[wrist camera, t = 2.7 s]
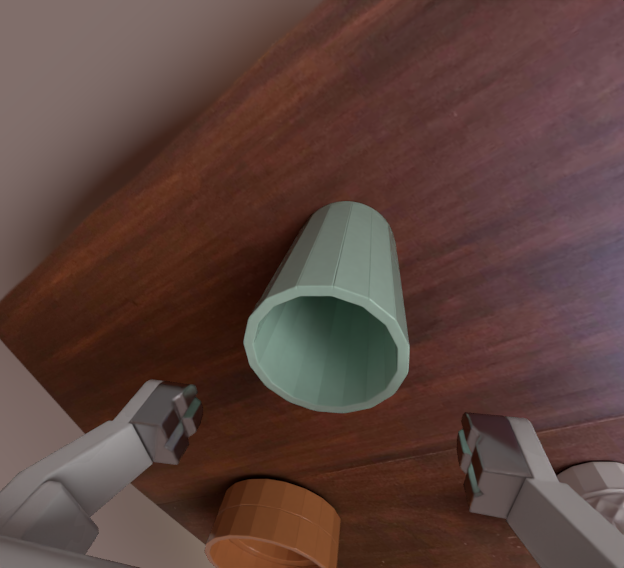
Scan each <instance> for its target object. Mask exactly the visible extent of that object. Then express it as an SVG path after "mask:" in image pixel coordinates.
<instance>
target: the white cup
mask: <svg viewBox="0 0 624 568" xmlns="http://www.w3.org/2000/svg"><path fill="white" fill-rule="evenodd" d="M557 479H558V481H559V482H562V483H566V484H568V485H569V486H570V487H571V488H572V489H573V490H574V491H575V492H576V493H578V494H579V495H580V496H581V497H582V498H583V499H584V500H585V501H586V502H588V503H589V504H590V505H591V506H592V507H593V508H594V509H595V510H596V511H597V512H599V513H600V514H601V515H602V516H603V517H604V518H605V519H606V520H607V521H609V522H610V523H611V524H612V525H613V526H614V527H615V528H616V529H617V530H618V531H620V532H621V533H622V534H623V535H624V464H622V463H618V462H588V463H584V464H580V465H576V466H572V467H570V468H568V469H566V470H565V471H563V472H561V473H560V474H558V475H557Z"/></svg>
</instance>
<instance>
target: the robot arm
mask: <svg viewBox="0 0 624 568" xmlns="http://www.w3.org/2000/svg"><path fill="white" fill-rule="evenodd" d="M197 393H198V391H197V389H196V387H195V385H192V384H185V383H177V382H170V381H162V380H153V379H151V380H149V381H147V382H145V383H144V385H143V386H142V387H141V388H140V389H139V391H138V392H137V393H136V394H135V395H134V396H133V398H132V399H131V400H130V401H129V402H128V404H127V405H126V406H125V407H124V408H123V409H122V411H121V412H120V413H119V414H118V415H117V417H116V418H115V419H114V420H113V421H107V422H105V423H104V424H102V425H100V426H98V427H97V428H95V429H93V430H91V431H90V432H88V433H86V434H85V435H83V436H81V437H80V438H78V439H76V440H74V441H73V442H71V443H69V444H67V445H66V446H64V447H62V448H61V449H59V450H57V451H55V452H54V453H52V454H50V455H49V456H47V457H45V458H43V459H42V460H40V461H38V462H37V463H35V464H33V465H32V466H30V467H28V468H26V469H25V470H23V471H21V472H19V473H18V474H17V475H16V476H15V477H14V478H13V479H12V480H11V481H10V482H9V483H8V484H7V485H6V486H5V487H4V488H3V489H2V490H1V491H0V568H139V567H135V566H130V565H126V564H122V563H118V562H114V561H110V560H105V559H101V558H97V557H93V556H88V555H85V554H86V552H87V550H88V549H89V548H90V546H91V545H92V543H93V541H94V540H95V538H96V537H97V535H98V533H99V532H98V527H97V526H96V524H95V523H94V522H93V521H92V520H91V518H90V517H91V516H92V515H93V514H94V513H95V512H97V511H98V510H99V509H100V508H101V507H102V506H103V505H105V504H106V503H107V502H108V501H109V500H111V499H112V498H113V497H114V496H115V495H116V494H118V493H119V492H120V491H121V490H122V489H123V488H124V487H126V486H127V485H128V484H129V483H130V482H132V481H133V480H134V479H135V478H136V477H137V476H139V475H140V474H141V473H142V472H143V471H144V470H146V469H147V468H148V467H149V466H150V465H151V464H153V462H159V463H167V464H175V465H178V463H179V461H180V460H181V458H182V456H183V454H184V453H185V451H186V449H187V447H188V446H189V440H188V437H190V436H191V435H192V434H194V433H195V432H196V431H197V429H198V427H199V426H200V424H201V420H202V416H203V406H202V403H201V401H200V400H199V399H198V398H196V397H195V396H196V394H197ZM461 422H462V426H463V429H462V430H460V431H459V432H458V437H457V455H458V461H459V466H460V468H461V469H462V471H463V472H464V473H465V474H466V478H465V481H464V489H465V493H466V498H467V502H468V507H469V511H470V512H473V513H478V514H484V515H489V516H494V517H500V518H505V519H507V520H506V521H507V523H508V524H509V525H510V527H511V528H512V529H513V531H514V532H515V533H516V535H517V536H518V537H519V539H520V540H521V541H522V543H523V544H524V545H525V547H526V548H527V549H528V551H529V552H530V553H531V555H532V556H533V557H534V559H535V560H536V561H537V563H538V564H539V565H540V567H541V568H624V535H623V534H622V533H621V532H620V531H618V530H617V529H616V528H615V527H614V526H613V525H612V524H611V523H610V522H609V521H607V520H606V519H605V518H604V517H603V516H602V515H601V514H600V513H599V512H597V511H596V510H595V509H594V508H593V507H592V506H591V505H590V504H589V503H588V502H586V501H585V500H584V499H583V498H582V497H581V496H580V495H579V494H578V493H576V492H575V491H574V490H573V489H572V488H571V487H570V486H569V485H568V484H566V483H562V482H559V481H558V479H557V477H556V475H555V472H554V470H553V468H552V466H551V464H550V462H549V460H548V458H547V456H546V454H545V452H544V450H543V447H542V445H541V443H540V441H539V439H538V437H537V435H536V433H535V431H534V429H533V427H532V425H531V422H530V421H529V420H528V419H526V418H516V417H507V416H505V417H504V416H500V415H489V414H478V413H467V412H465V413H464V414H463V416H462V420H461Z"/></svg>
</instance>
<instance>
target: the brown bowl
mask: <svg viewBox="0 0 624 568" xmlns="http://www.w3.org/2000/svg"><path fill="white" fill-rule="evenodd" d="M340 526H341V520H340V518H339V516H338V514H337V512H336V510H335V509H334V508H333V507H332V506H331V505H330V504H329V503H328V502H326V501H325V500H324V499H323V498H321V497H320V496H318V495H316V494H314V493H312V492H311V491H309V490H307V489H305V488H302V487H299V486H296V485H293V484H290V483H287V482H283V481H277V480H271V479H247V480H244V481H240V482H237V483H235V484H233V485H232V486H231V487H230V488H228V489H227V491H226V494H225V496H224V499H223V501H222V504H221V507H220V509H219V512H218V514H217V517H216V520H215V522H214V525H213V527H212V530H211V532H210V535H209V538H208V540H207V543H206V547H205V554H206V556H207V558H208V560H209V561H210V562H211V563H212V564H213V565H214V566H215V567H216V568H337V564H338V552H339V540H340Z"/></svg>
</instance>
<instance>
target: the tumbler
mask: <svg viewBox="0 0 624 568" xmlns="http://www.w3.org/2000/svg"><path fill="white" fill-rule="evenodd" d="M243 343H244V347H245V350H246V354H247V358H248V361H249V365H250V367H251V368H252V369H253V371H254V372H255V373H256V374H257V376H258V377H259V378H260V379H261V381H262V382H263V383H264V385H265V386H266V387H268V388H269V389H271V390H272V391H274V392H275V393H276V394H278V395H279V396H281V397H282V398H284V399H285V400H287V401H289V402H291V403H294V404H296V405H299V406H302V407H305V408H308V409H311V410H314V411H320V412H333V413H349V412H354V411H358V410H363V409H368V408H371V407H374V406H375V405H377V404H379V403H380V402H382V401H384V400H385V399H387V398H389V397H390V396H392V395H393V394H394V393H395V392H396V391H397V389H398V388H399V386H400V385H401V383H402V382H403V380H404V379H405V377H406V376H407V374H408V371H409V351H410V346H409V339H408V331H407V324H406V317H405V309H404V302H403V294H402V287H401V280H400V272H399V265H398V257H397V250H396V243H395V239H394V236H393V233H392V230H391V228H390V226H389V224H388V223H387V221H386V220H385V219H384V218H383V217H382V216H381V215H380V214H379V213H378V212H377V211H375V210H374V209H372V208H371V207H369V206H366V205H364V204H361V203H357V202H350V201H342V202H335V203H332V204H329V205H326V206H324V207H322V208H320V209H319V210H317V211H316V212H315V213H313V215H312V216H311V217H310V218H309V219H308V220H307V222H306V223H305V224H304V226H303V227H302V228H301V230H300V232H299V233H298V235H297V237H296V238H295V240H294V242H293V244H292V245H291V247H290V249H289V250H288V252H287V254H286V255H285V257H284V259H283V260H282V262H281V264H280V266H279V267H278V269H277V271H276V272H275V274H274V276H273V277H272V279H271V281H270V282H269V284H268V286H267V288H266V289H265V291H264V293H263V294H262V296H261V298H260V299H259V301H258V303H257V304H256V306H255V308H254V310H253V311H252V313H251V315H250V316H249V318H248V322H247V326H246V331H245V336H244V340H243Z"/></svg>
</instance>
